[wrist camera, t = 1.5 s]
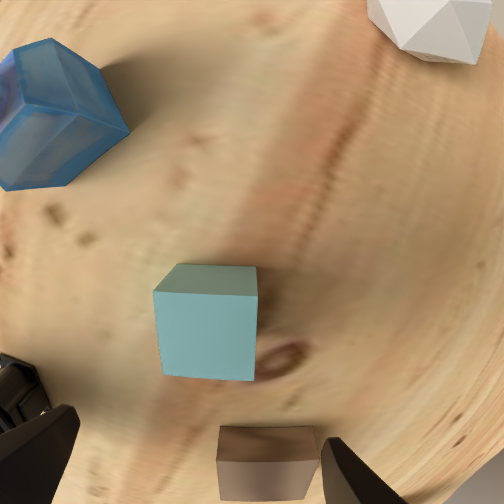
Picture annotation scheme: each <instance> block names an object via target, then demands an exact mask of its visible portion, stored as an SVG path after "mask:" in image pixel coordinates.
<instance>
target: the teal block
mask: <svg viewBox="0 0 504 504" xmlns="http://www.w3.org/2000/svg"><path fill="white" fill-rule="evenodd" d="M153 297H154V308H155V318H156V327H157V335H158V343H159V351H160V358H161V364H162V371H163V374H164V375H172V376H181V377H192V378H204V379H219V380H239V381H254V369H255V348H256V327H257V305H258V290H257V275H256V267H251V266H221V265H194V264H177V265H176V266H175V267H174V268H173V269H172V270H171V271H170V272H169V274H168V275H167V276H166V277H165V278H164V279H163V280H162V281H161V283H160V284H159V285H158V286H157V287H156V288H155V289H154V291H153Z"/></svg>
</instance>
